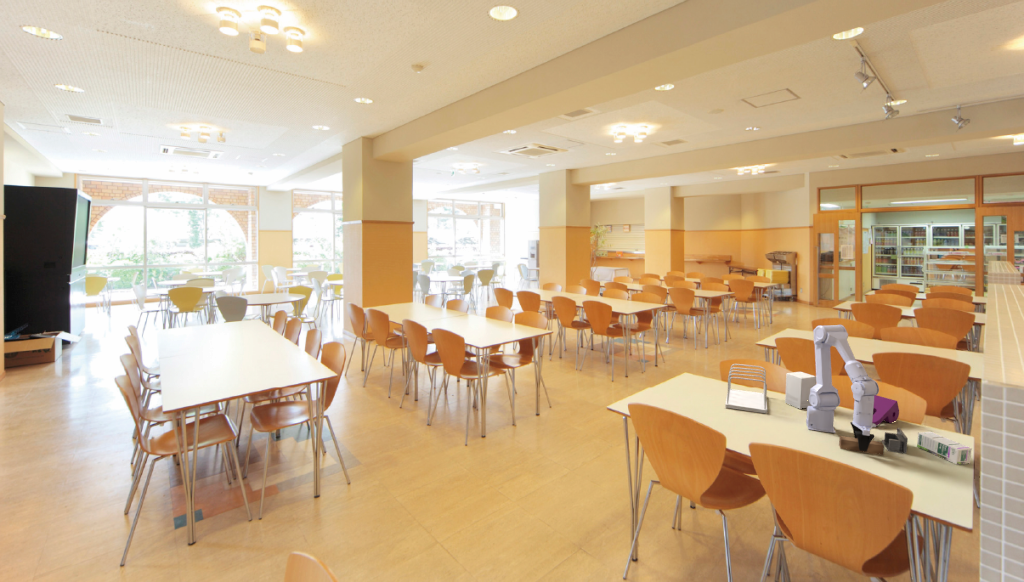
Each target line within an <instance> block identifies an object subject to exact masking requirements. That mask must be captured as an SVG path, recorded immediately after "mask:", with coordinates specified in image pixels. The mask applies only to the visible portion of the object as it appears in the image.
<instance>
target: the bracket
mask: <svg viewBox="0 0 1024 582" xmlns="http://www.w3.org/2000/svg"><path fill="white" fill-rule="evenodd" d="M880 442H882V443H883V445H884V448H885V449H886V450H887V452H892V453H898V454H905V455H906V454H907V451H908V442H909V441H908V437H907V435H906V434H905V433H904V432H903V430H902V429H901V428H900V427H896V433H895V432H888V431H886V432H884V438H883V439H881V440H880Z"/></svg>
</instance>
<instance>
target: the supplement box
mask: <svg viewBox="0 0 1024 582" xmlns="http://www.w3.org/2000/svg"><path fill="white" fill-rule="evenodd" d="M785 376H786V378H785V398H784V399H785V400H784V403H785V404H786V403H787V405H788V404H790V405H789V406H791V405H792V406H791V407H793V406H794V407H793V408H795V409H798V408H799V409H798V410H803V409H802V408H806V409H807V407H808V406H812V405H811V404H810V402H809V395H810V389H811V388H812V387H813V386H815V385H816V384H817V382H816V375H813V374H809V373H806V372H803V371H795V372H787V373H786V374H785ZM807 400H808V401H807Z"/></svg>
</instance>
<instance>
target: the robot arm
mask: <svg viewBox="0 0 1024 582" xmlns="http://www.w3.org/2000/svg"><path fill="white" fill-rule="evenodd" d="M812 333H813V344H814V359H815V376H816V385H815V386H813V387H812V388H811V389H810V395H809V402H810V404H811V405H812V406H808V407H807V408H806V420H805V422H806V427H807V429H808V430H812V431H817V432H819V431H820V432H826V433H833V434H836V430H835V426H834V421H835V410H837V407H839V406H840V405H841V398H840V396H839V390H838V389H837V388H836V387H835V386H834V385H833V378H832V360H831V355H832V354H831V347H835V349H836V350H837V352H838V353H839V355H840V357H841V358H842V360H843V361H844V363H845V365H844V370H845V372H846V373H847V376H848V377H849V379H850V382H851V383H852V384H851V385H850V387H851V392H852V397H853V399H854V402H853V417H852V418H853V419H852V421H851V422H850V425H851V428H852V430H853V438H858V445H859V450H860V451H867V449H868V447H869V444H870V442H871V441H873V440H874V438H875V434H874V433H873V434H872V433H871V430H872V428H876V427H877V426H876V425H875V424H873V423H872V419H873V406H874V395H877V396H878V394H879V392H880V386H879V384H878V382H877V381H876V380H875V379H873V378H872V377H870V375H869V374H868V372H867V370H866V368H865V367H864V366H863V364H862V362H860V361H858V360H857V359H856V357H855V356H854V353H853V350H852V349H851V346H850V343H849V341H848V338H849V333H848V331H847V329H846V327H845V326H844V325H842V324H837V325H836V324H835V325H834V324H833V325H817V326H816V327H815V328H814V329H813V331H812Z"/></svg>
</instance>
